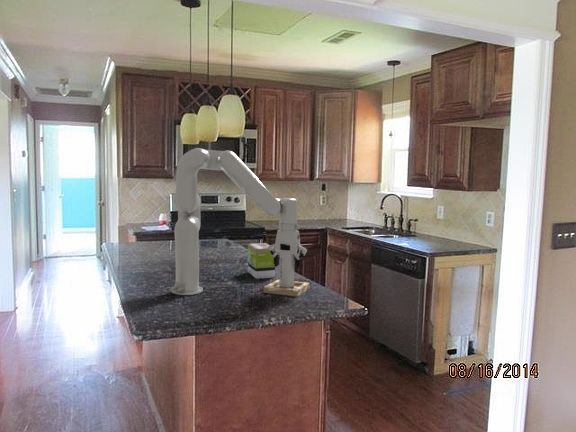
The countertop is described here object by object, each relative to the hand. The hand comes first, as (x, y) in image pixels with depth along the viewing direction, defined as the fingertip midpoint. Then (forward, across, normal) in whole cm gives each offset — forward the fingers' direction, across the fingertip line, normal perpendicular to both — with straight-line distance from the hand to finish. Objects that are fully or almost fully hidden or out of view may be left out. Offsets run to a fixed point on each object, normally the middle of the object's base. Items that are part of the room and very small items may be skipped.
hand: (286, 267), depth 201 cm
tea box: (+10, +22, -22) cm, 33 cm away
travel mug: (+9, 0, 0) cm, 9 cm away
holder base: (+10, 0, 0) cm, 10 cm away
